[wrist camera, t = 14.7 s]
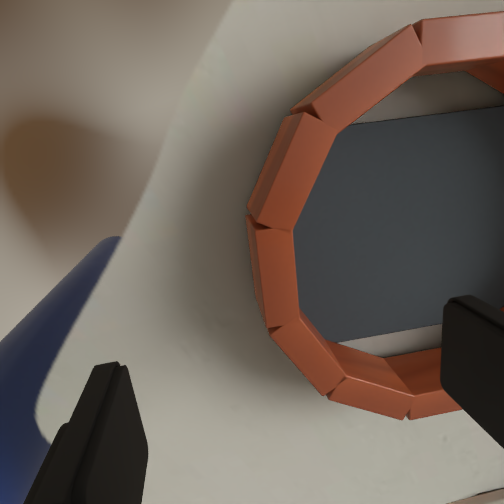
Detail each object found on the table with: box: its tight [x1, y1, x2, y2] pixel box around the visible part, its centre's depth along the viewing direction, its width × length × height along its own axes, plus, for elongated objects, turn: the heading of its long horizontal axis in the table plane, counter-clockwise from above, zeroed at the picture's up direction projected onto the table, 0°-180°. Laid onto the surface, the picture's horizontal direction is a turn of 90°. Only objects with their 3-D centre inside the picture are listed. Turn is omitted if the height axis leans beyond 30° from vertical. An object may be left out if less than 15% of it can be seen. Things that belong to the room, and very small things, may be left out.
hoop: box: [245, 11, 504, 420], centre depth 18 cm, size 19×19×3 cm
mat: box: [293, 106, 504, 343], centre depth 20 cm, size 14×12×1 cm
